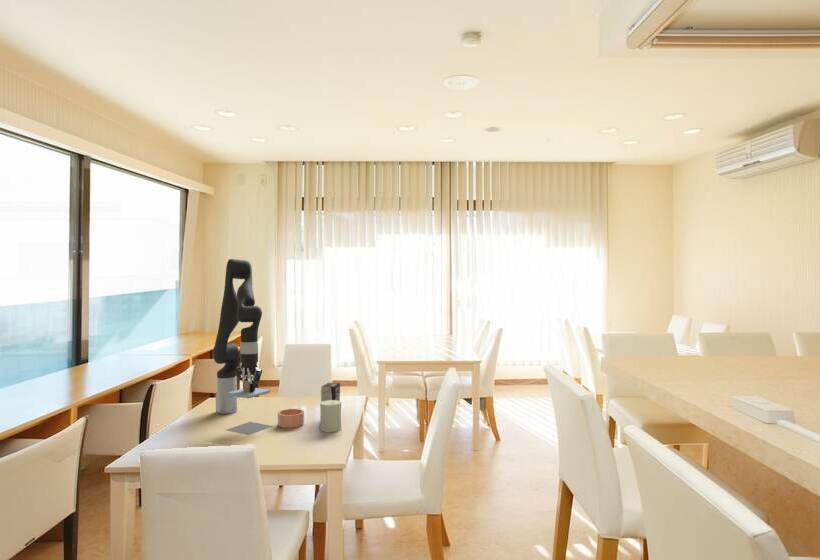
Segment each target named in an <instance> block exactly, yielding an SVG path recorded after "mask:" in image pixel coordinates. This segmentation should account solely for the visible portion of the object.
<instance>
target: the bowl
mask: <svg viewBox="0 0 820 560" xmlns="http://www.w3.org/2000/svg"><path fill="white" fill-rule="evenodd" d="M304 423H305V410H304V409H301V408H287V409H285V408H284V409H282V410H279V411H278V412H277V425H278V427H280V428H283V429H297V428H299V427H302V426H303V425H304Z"/></svg>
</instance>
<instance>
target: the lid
mask: <svg viewBox="0 0 820 560" xmlns="http://www.w3.org/2000/svg"><path fill="white" fill-rule="evenodd" d="M250 384H251V383H250V379H248V380H247V381H244V391H243V388H240V389H237V390H236V391H232V392H228V395H231V396H237V398H242V399H253V398H256V397H259V396H262V395H266V394H270V393H271V389H265V388H258V387H255V391H254V392H250Z"/></svg>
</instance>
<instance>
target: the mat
mask: <svg viewBox="0 0 820 560" xmlns="http://www.w3.org/2000/svg"><path fill="white" fill-rule="evenodd" d="M272 427H273V425H269V424H265V423H264V424H263V423H259V422H253V421H248V422H245V423H242V424H239V425H237V426H233V427H230V428H227V429H226V431H227V432H232V433H237V434H238V433H239V434H243V435H248V436H250V435H253V434H256V433H258V432H260V431H261V432H262V431H263V430H266V429H269V428H272Z"/></svg>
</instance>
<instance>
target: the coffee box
mask: <svg viewBox="0 0 820 560" xmlns="http://www.w3.org/2000/svg"><path fill="white" fill-rule="evenodd" d="M320 387H321V388H320V389H321V390H320V395H321V396H320V403H321V402H322V401H326V400H338V401H341V383H340V382H327V383H325V384H323V385H322V386H320Z"/></svg>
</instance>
